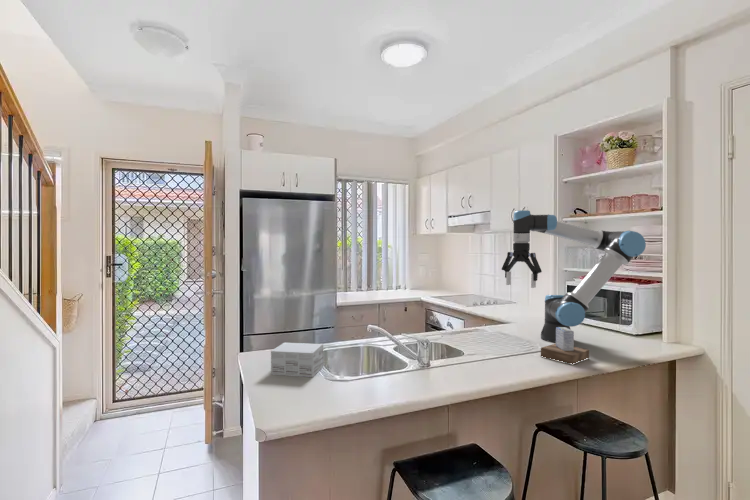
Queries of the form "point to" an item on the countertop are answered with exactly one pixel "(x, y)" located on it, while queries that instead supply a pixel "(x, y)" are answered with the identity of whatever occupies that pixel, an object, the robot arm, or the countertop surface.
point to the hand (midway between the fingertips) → (520, 286)
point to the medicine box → (565, 339)
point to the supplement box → (297, 359)
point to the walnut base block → (564, 354)
